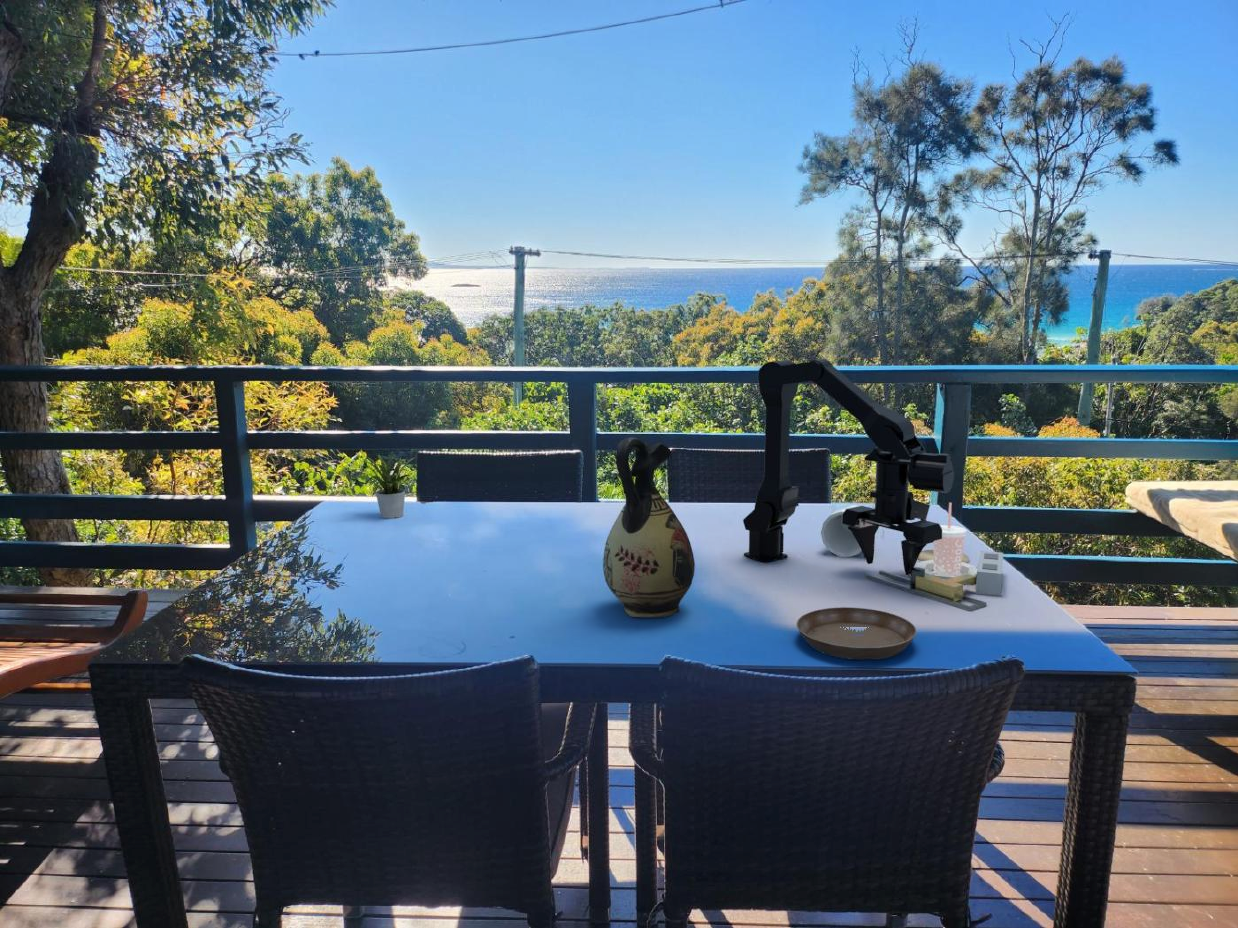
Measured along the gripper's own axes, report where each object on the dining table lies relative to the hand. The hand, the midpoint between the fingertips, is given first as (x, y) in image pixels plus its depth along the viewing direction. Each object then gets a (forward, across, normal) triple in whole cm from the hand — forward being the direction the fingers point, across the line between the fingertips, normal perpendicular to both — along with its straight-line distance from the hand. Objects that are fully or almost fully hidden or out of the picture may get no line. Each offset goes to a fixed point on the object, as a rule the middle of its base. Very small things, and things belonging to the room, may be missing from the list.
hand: (888, 568), depth 167 cm
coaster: (+2, +3, -20) cm, 20 cm away
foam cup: (-2, +22, -16) cm, 28 cm away
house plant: (+2, +106, +59) cm, 121 cm away
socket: (+2, -7, -11) cm, 13 cm away
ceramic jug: (+2, +13, +46) cm, 48 cm away
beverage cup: (+2, -4, -11) cm, 12 cm away
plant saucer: (+3, -17, +28) cm, 33 cm away
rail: (+2, -8, 0) cm, 8 cm away
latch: (+2, -10, -3) cm, 11 cm away
